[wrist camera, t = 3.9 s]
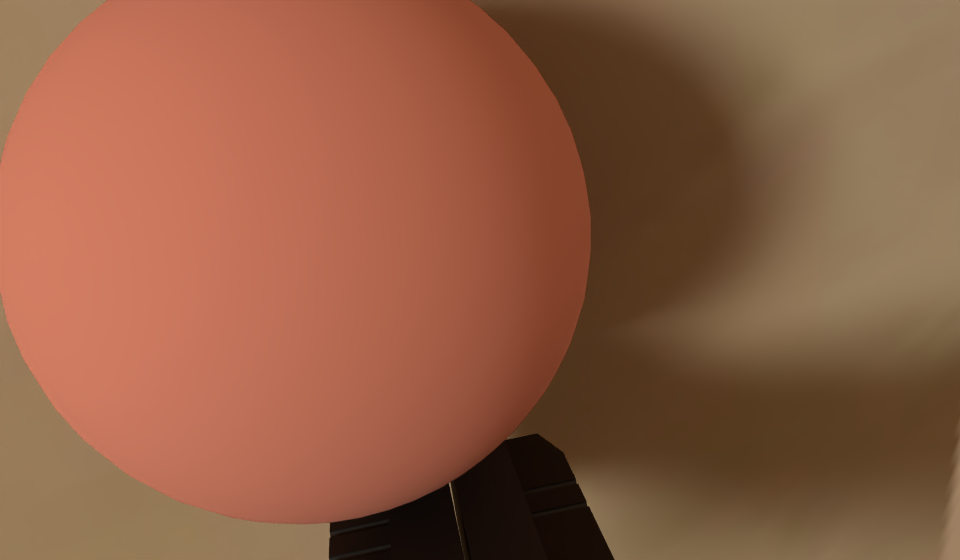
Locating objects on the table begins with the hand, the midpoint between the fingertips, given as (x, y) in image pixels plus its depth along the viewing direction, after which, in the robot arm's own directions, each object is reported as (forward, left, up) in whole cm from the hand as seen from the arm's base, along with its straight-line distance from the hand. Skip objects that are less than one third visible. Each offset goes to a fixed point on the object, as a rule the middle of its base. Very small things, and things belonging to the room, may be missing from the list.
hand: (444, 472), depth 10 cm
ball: (+3, +3, +1) cm, 4 cm away
